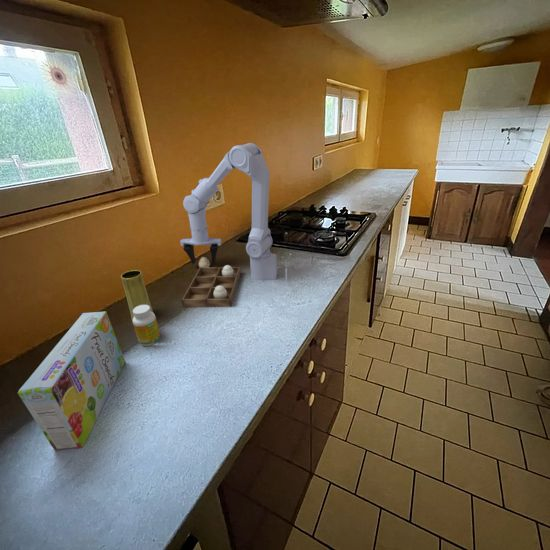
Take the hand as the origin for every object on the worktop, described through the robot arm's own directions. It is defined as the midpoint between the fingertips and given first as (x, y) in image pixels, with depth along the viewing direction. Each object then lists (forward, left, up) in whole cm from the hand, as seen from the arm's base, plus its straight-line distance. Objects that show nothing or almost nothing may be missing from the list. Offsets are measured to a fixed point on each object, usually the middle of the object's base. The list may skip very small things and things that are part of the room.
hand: (203, 262), depth 114 cm
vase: (+11, +31, -3) cm, 33 cm away
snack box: (+9, +60, -3) cm, 61 cm away
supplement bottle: (+5, +41, -3) cm, 41 cm away
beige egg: (0, 0, -3) cm, 3 cm away
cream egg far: (-11, +9, -2) cm, 14 cm away
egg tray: (-7, +16, -3) cm, 18 cm away
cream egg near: (-11, +23, -2) cm, 25 cm away
